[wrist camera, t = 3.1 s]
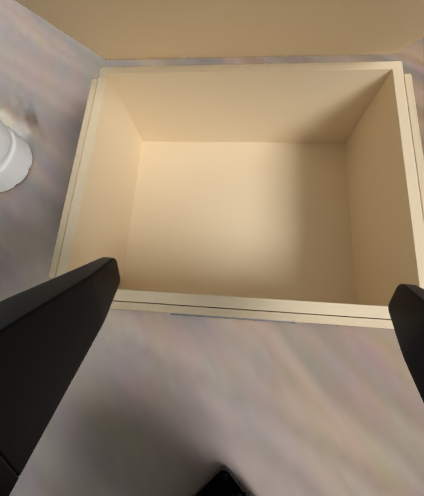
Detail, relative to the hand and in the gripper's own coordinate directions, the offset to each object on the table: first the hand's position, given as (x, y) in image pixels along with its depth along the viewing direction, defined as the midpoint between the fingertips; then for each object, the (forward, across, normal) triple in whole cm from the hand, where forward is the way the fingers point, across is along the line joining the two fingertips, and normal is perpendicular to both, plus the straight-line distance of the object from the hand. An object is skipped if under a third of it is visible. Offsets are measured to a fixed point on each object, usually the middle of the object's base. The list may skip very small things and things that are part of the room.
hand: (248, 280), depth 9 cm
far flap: (+10, +1, -8) cm, 13 cm away
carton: (+15, +1, +4) cm, 15 cm away
